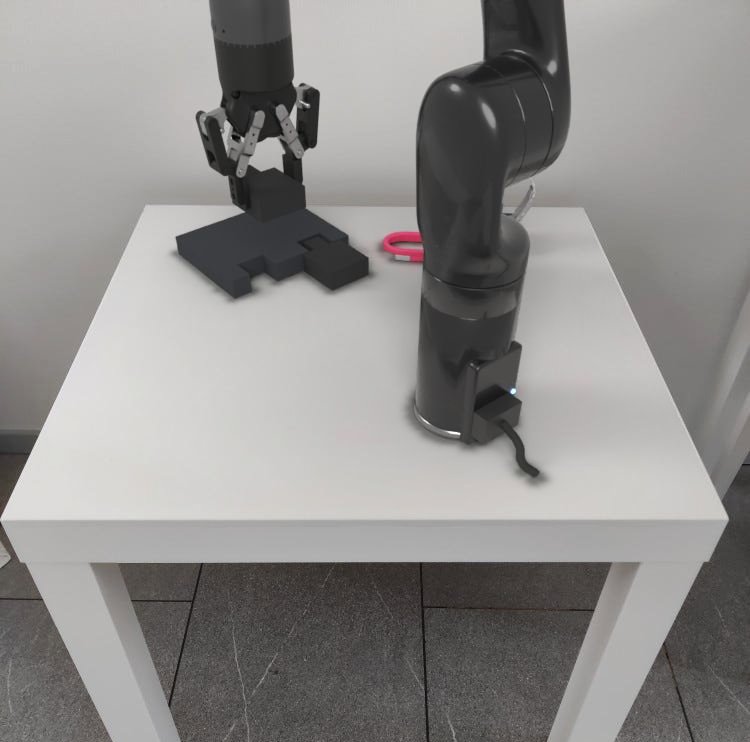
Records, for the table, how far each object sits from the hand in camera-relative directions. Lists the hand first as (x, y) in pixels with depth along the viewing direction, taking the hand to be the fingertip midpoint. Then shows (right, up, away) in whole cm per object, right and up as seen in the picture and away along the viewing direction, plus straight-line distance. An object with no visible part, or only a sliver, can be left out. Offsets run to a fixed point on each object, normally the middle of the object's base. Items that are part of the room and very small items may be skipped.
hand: (268, 197), depth 85 cm
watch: (+29, +1, +19) cm, 34 cm away
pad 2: (-1, 0, +1) cm, 2 cm away
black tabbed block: (+6, -4, +14) cm, 16 cm away
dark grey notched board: (-3, -1, +17) cm, 17 cm away
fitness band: (+17, 0, +18) cm, 24 cm away
